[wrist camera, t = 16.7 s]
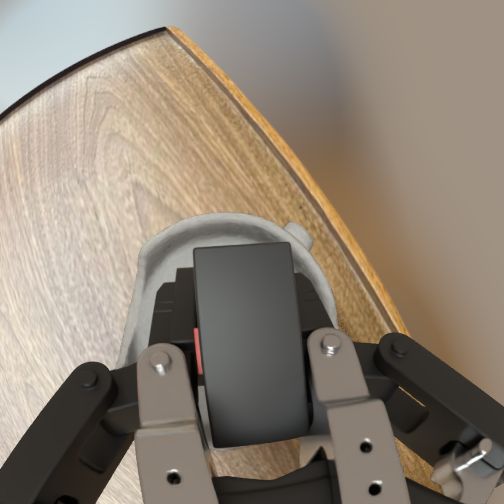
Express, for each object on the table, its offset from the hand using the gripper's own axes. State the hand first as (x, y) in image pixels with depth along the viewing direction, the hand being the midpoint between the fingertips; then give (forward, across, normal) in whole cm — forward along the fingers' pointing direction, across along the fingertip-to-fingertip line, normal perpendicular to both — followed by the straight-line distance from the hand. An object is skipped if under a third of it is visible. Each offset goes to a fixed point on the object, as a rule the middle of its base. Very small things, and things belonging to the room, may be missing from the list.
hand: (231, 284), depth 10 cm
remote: (+1, 0, +4) cm, 4 cm away
